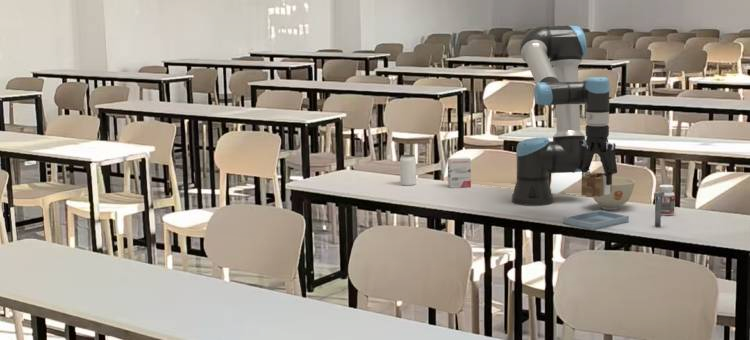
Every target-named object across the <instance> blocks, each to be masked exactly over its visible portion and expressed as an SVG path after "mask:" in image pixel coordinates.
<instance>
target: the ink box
mask: <svg viewBox="0 0 750 340" xmlns="http://www.w3.org/2000/svg"><path fill="white" fill-rule="evenodd" d="M471 160H472V159H471V158H470V157H468V156H464V157H462V156H461V157H447V186H448V188H450V189H461V188H471V186H472V181H471V179H472V174H471V173H472V170H471V169H472V166H471V165H472V164H471V162H472V161H471Z"/></svg>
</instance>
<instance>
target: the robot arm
mask: <svg viewBox="0 0 750 340" xmlns="http://www.w3.org/2000/svg"><path fill="white" fill-rule="evenodd" d="M587 46H588V45H587V39H586V35H585V32H584V30H583V28H582V27H580V26H578V25H552V26H551V25H548V26H545V25H544V26H543V25H542V26H537V27H534V28H532V29H530V30H528V32H527V33H526V34H525V35H524V36H523V37H522V38H521V41H520V43H519V53H520V57H521V59H522V60H523V61H524V62H525V63H526V64H527V66H528V68H529V70H530V73H531V75H532V77H533V80H534V83H535V85H534V87H533V98H534V102H535V104H536V105H538V106H555V117H556V119H555V120H556V133H555V134H554V135H553V136H552V141H550V140H549V139H550V138H548V137H532V138H528V139H527V138H526V139H523V140H521V141H519V142H518V143H517V145H516V153H515V155H516V182H515V185H514V189H513V193H512V195H511V202H512V204H513V203H514V204H515V205H516V204H517V205H522V206H544V205H551V204H552V203H554V194H553V193H552V189H551V186H550V182H549V181H550V180H549V174H559V173H560V174H561V173H562V174H564V173H566V174H567V173H573V174H576V173H581V178H582V177H584V176H586V175H588V174H591V173H592V172H591V171H590V167H591V164H592V161H593V158H594V157H595V154H597V156H598V157H599V158H600V162H601V165H602V168H603V171H604V172H603V173H605V174H604V175H603V195H608V194H610V185H611V184H612V177H613V175H615V174H617V173H618V167H617V157H616V147H617V146H616V143H611V142H609V139H608V138H609V136H610V134H609V133H610V126H609V124H610V92H611V91H610V90H611V86H610V80H609V78H608V77H602V76H595V77H594V76H593V77H591V76H590V77H588V78H587V79H586V80H582V81H579V65H580V64H581V63H582V62H583V58H584V57H586V55H587ZM580 105H585V123H586V126H585V134H584V132H582V131H581V115H580V114H581V113H580V108H581V107H580Z"/></svg>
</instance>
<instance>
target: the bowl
mask: <svg viewBox="0 0 750 340" xmlns="http://www.w3.org/2000/svg"><path fill="white" fill-rule="evenodd" d="M635 183H636V182H635V180H634V179H632V178H630V177H622V176H612V192H610V194H608V195H603V196H601V197H597V196H593V197H592V198H593V200H594V201H595V202H596V203H597V204H598V205H600V206H601V208H603V210H606V209H607V211H616V210H620V209H621V206H623V205H625V204H627V202H628V201H629V200H630V198H631V196H632V194H633V190H634V186H635Z"/></svg>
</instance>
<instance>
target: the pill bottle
mask: <svg viewBox="0 0 750 340" xmlns="http://www.w3.org/2000/svg"><path fill="white" fill-rule="evenodd" d="M658 190H659V192H664V196H661V216H666V217H667V216H673V215H675V197H676V195H675V192H673V191H674V185H671V184H660V185H659V187H658Z"/></svg>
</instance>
